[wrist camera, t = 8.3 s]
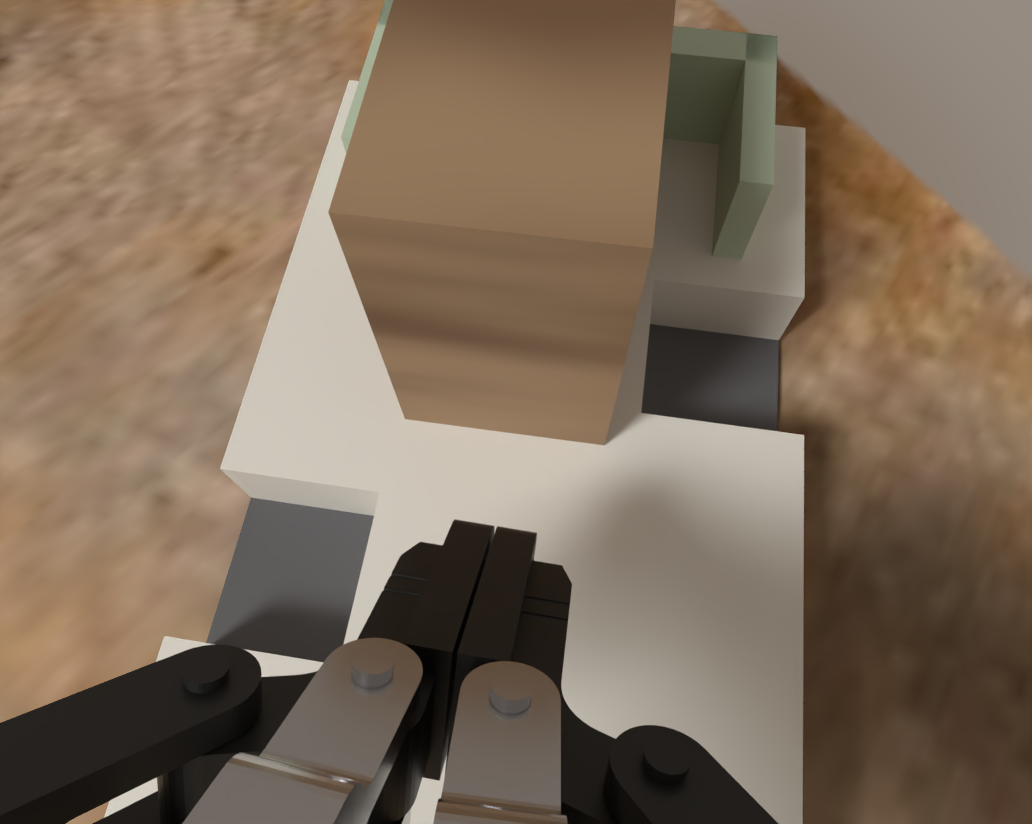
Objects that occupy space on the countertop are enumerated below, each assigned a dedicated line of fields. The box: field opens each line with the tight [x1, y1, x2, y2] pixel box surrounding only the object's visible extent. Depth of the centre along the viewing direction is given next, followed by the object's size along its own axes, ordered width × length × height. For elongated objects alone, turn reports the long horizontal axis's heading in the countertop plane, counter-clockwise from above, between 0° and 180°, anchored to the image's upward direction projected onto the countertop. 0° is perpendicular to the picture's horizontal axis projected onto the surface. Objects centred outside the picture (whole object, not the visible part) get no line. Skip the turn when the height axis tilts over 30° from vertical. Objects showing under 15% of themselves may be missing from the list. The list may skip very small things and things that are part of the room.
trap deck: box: [104, 0, 805, 824], centre depth 19 cm, size 22×14×6 cm, turn 171°
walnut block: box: [328, 0, 676, 445], centre depth 17 cm, size 10×5×8 cm, turn 172°
